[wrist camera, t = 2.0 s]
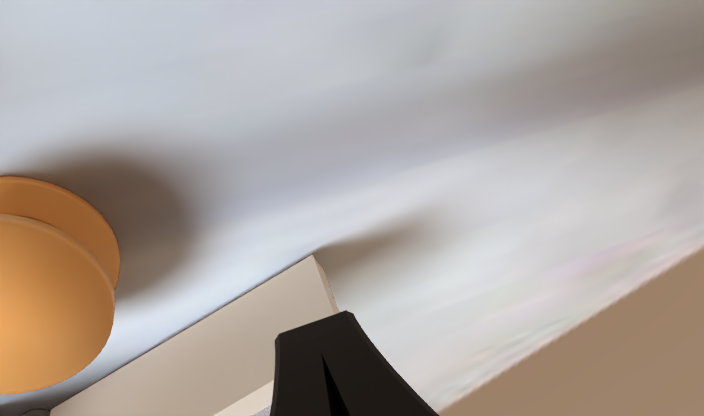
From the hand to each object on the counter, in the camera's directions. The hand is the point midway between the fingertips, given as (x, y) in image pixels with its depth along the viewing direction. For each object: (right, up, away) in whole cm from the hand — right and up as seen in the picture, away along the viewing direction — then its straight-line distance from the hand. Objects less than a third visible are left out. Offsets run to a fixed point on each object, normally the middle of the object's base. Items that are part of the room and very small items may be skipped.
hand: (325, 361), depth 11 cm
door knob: (-8, +1, +5) cm, 10 cm away
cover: (-5, -2, +8) cm, 10 cm away
